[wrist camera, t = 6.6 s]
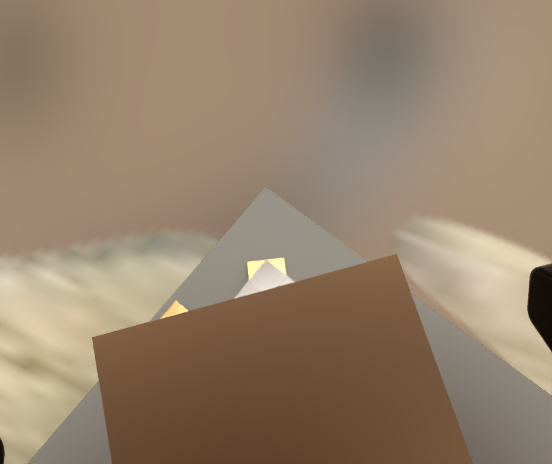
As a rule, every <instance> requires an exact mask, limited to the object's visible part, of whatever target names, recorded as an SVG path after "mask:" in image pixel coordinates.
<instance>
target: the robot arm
mask: <svg viewBox="0 0 552 464" xmlns="http://www.w3.org/2000/svg"><path fill="white" fill-rule="evenodd" d="M527 310H528V315H529V318H530V320H531V322H532V324H533V325H534V327H535V328H536V330H537V331H538V332H539V334H540V335H541V337H542V338H543V340H544V341H545V343H546V344H547V346H548V347H549V349H550V350H551V352H552V263H551V264H547V265H543V266H539V267H536V268H534V269H533V270H532V272H531V274H530V280H529V293H528V305H527ZM4 456H5V452H4V445H3V442H2V440H1V438H0V464H4Z"/></svg>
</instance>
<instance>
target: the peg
mask: <svg viewBox="0 0 552 464" xmlns="http://www.w3.org/2000/svg"><path fill="white" fill-rule="evenodd" d="M92 340H93V346H94V353H95V359H96V365H97V372H98V378H99V384H100V391H101V397H102V403H103V410H104V416H105V422H106V429H107V435H108V441H109V448H110V454H111V460H112V464H473V462H472V459H471V456H470V453H469V451H468V448H467V445H466V442H465V440H464V437H463V434H462V432H461V429H460V426H459V423H458V421H457V418H456V415H455V412H454V410H453V407H452V404H451V401H450V399H449V396H448V393H447V390H446V388H445V385H444V382H443V380H442V377H441V374H440V371H439V369H438V366H437V363H436V360H435V358H434V355H433V352H432V349H431V347H430V344H429V341H428V339H427V336H426V333H425V330H424V328H423V325H422V322H421V319H420V317H419V314H418V311H417V308H416V306H415V303H414V300H413V298H412V295H411V292H410V289H409V287H408V284H407V281H406V278H405V276H404V273H403V270H402V267H401V265H400V262H399V259H398V257H397V254H395V255H391V256H388V257H384V258H381V259H377V260H374V261H370V262H366V263H362V264H359V265H355V266H351V267H348V268H344V269H340V270H337V271H333V272H329V273H326V274H322V275H319V276H315V277H311V278H308V279H304V280H300V281H297V282H293V283H289V284H286V285H282V286H278V287H275V288H271V289H267V290H264V291H260V292H257V293H253V294H249V295H246V296H242V297H238V298H235V299H231V300H227V301H224V302H220V303H216V304H213V305H209V306H205V307H202V308H198V309H195V310H191V311H187V312H184V313H180V314H176V315H173V316H169V317H165V318H162V319H158V320H154V321H151V322H147V323H144V324H140V325H136V326H133V327H129V328H125V329H122V330H118V331H114V332H111V333H107V334H103V335H100V336H96V337H92Z"/></svg>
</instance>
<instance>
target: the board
mask: <svg viewBox="0 0 552 464" xmlns="http://www.w3.org/2000/svg"><path fill="white" fill-rule="evenodd" d="M277 258H284V263H285V271H286V275H287V276H288V277H290V278H291V279H292V280H294V281H295V282H297V281H300V280H304V279H308V278H311V277H315V276H319V275H322V274H326V273H329V272H333V271H337V270H340V269H344V268H348V267H351V266H355V265H359V264H362V263H366V262H368V261H366V260H365V259H363V258H362V257H361V256H359V255H358V254H356V253H355V252H354V251H353V250H351V249H350V248H348V247H347V246H346V245H344V244H343V243H341V242H340V241H339V240H338V239H336V238H335V237H333V236H332V235H331V234H329V233H328V232H327V231H325V230H324V229H322V228H321V227H320V226H318V225H317V224H316V223H314V222H313V221H312V220H310V219H309V218H307V217H306V216H305V215H303V214H302V213H301V212H299V211H298V210H296V209H295V208H294V207H292V206H291V205H290V204H288V203H287V202H285V201H284V200H283V199H281V198H280V197H279V196H277V195H276V194H275V193H273V192H272V191H270V190H269V189H268V188H266V187H265V188H264V189H263V191H262V192H261V193H260V194H259V195H258V196H257V198H256V199H255V200H254V201H253V202H252V203H251V205H250V206H249V207H248V208H247V209H246V210H245V212H244V213H243V214H242V215H241V216H240V217H239V219H238V220H237V221H236V222H235V223H234V224H233V226H232V227H231V228H230V229H229V230H228V231H227V232H226V234H225V235H224V236H223V237H222V238H221V239H220V241H219V242H218V243H217V244H216V245H215V246H214V248H213V249H212V250H211V251H210V252H209V253H208V255H207V256H206V257H205V258H204V259H203V260H202V262H201V263H200V264H199V265H198V266H197V267H196V268H195V270H194V271H193V272H192V273H191V274H190V275H189V277H188V278H187V279H186V280H185V281H184V282H183V284H182V285H181V286H180V287H179V288H178V289H177V291H176V292H175V293H174V294H173V295H172V296H171V298H170V299H169V300H168V301H167V302H166V303H165V304H164V306H163V307H162V308H161V309H160V310H159V311H158V313H157V314H156V315H155V316H154V317H153V318H152V320H151V321H154V320H158V319H160V318H161V317H162V316H163V315H164V314H165V312H166V311H167V310H168V309H169V308H170V307H171V305H172V304H173V303H174V302H175V301H177V302H179V303H180V304H181V305H182V306H183V307H185V308H186V309H187V310H188V311H191V310H195V309H198V308H202V307H205V306H209V305H213V304H216V303H220V302H224V301H227V300H230V299H233V298H235V297H236V295H237V294H238V293H239V292H240V290H241V289H242V288H243V287H244V286H245V284H246V283H247V282H248V281H249V275H248V265H247V262H251V261H260V260H268V259H277ZM411 295H412V298H413V300H414V303H415V306H416V308H417V311H418V314H419V317H420V319H421V322H422V325H423V328H424V330H425V333H426V336H427V339H428V341H429V344H430V347H431V349H432V352H433V355H434V358H435V360H436V363H437V366H438V369H439V371H440V374H441V377H442V380H443V382H444V385H445V388H446V390H447V393H448V396H449V399H450V401H451V404H452V407H453V410H454V412H455V415H456V418H457V421H458V423H459V426H460V429H461V432H462V434H463V437H464V440H465V442H466V445H467V448H468V451H469V453H470V456H471V459H472V462H473V464H552V396H551V395H550V394H548V393H547V392H546V391H544V390H543V389H542V388H540V387H539V386H538V385H536V384H535V383H533V382H532V381H531V380H529V379H528V378H527V377H525V376H524V375H522V374H521V373H520V372H518V371H517V370H516V369H514V368H513V367H512V366H510V365H509V364H507V363H506V362H505V361H503V360H502V359H501V358H499V357H498V356H496V355H495V354H494V353H492V352H491V351H490V350H488V349H487V348H485V347H484V346H483V345H481V344H480V343H479V342H477V341H476V340H475V339H473V338H472V337H470V336H469V335H468V334H466V333H465V332H464V331H462V330H461V329H459V328H458V327H457V326H455V325H454V324H453V323H451V322H450V321H448V320H447V319H446V318H444V317H443V316H442V315H440V314H439V313H438V312H436V311H435V310H433V309H432V308H431V307H429V306H428V305H427V304H425V303H424V302H422V301H421V300H420V299H418V298H417V297H416V296H414V295H413V294H412V293H411ZM151 321H150V322H151ZM28 464H112V460H111V454H110V448H109V441H108V435H107V429H106V422H105V416H104V410H103V403H102V397H101V391H100V384H99V381H98V382H97V383H96V385H95V386H94V387H93V388H92V389H91V390H90V392H89V393H88V394H87V395H86V396H85V397H84V399H83V400H82V401H81V402H80V403H79V404H78V406H77V407H76V408H75V409H74V410H73V411H72V412H71V414H70V415H69V416H68V417H67V418H66V419H65V421H64V422H63V423H62V424H61V425H60V426H59V428H58V429H57V430H56V431H55V432H54V433H53V435H52V436H51V437H50V438H49V439H48V440H47V442H46V443H45V444H44V445H43V446H42V447H41V449H40V450H39V451H38V452H37V453H36V454H35V455H34V457H33V458H32V459H31V460H30V461H29V462H28Z"/></svg>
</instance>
